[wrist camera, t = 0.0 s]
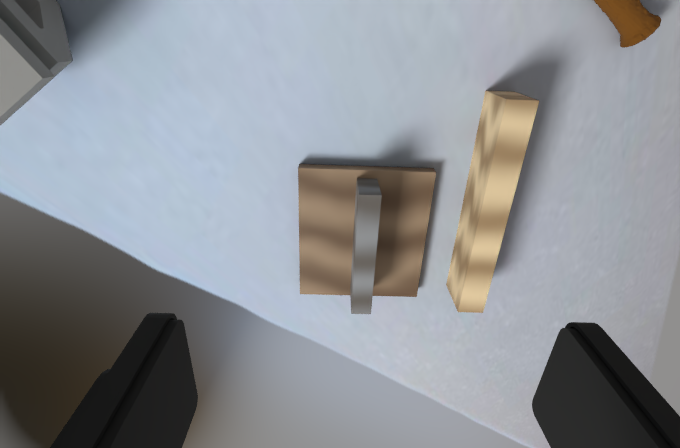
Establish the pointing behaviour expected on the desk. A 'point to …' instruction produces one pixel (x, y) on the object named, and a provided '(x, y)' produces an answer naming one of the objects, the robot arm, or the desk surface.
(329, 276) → the stand
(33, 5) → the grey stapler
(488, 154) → the oak batten
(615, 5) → the primitive tool
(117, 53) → the desk surface
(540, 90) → the desk surface
